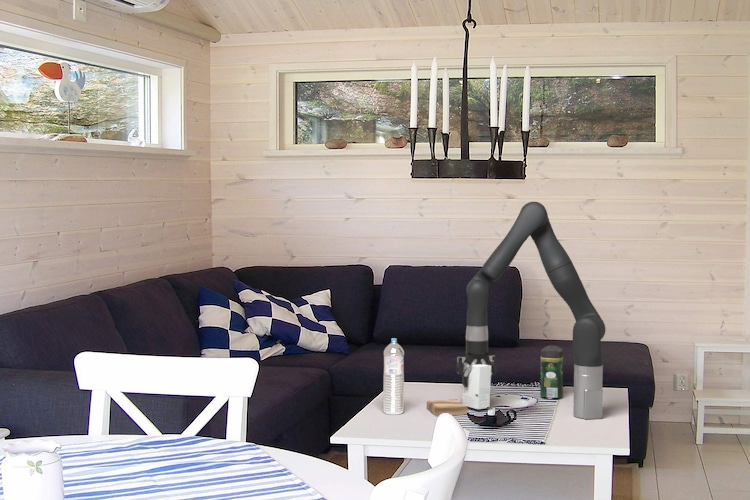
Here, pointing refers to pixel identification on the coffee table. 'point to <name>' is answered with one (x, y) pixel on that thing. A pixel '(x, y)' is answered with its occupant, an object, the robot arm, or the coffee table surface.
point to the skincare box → (477, 387)
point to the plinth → (446, 407)
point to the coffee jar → (551, 372)
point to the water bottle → (393, 379)
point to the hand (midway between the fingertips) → (476, 386)
